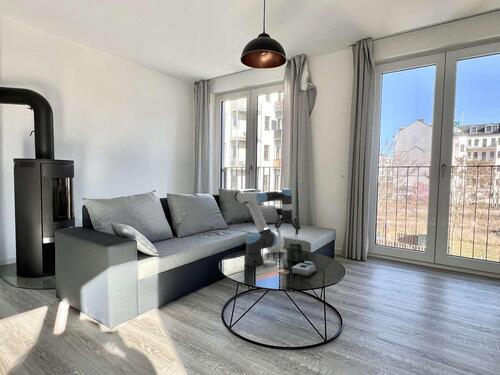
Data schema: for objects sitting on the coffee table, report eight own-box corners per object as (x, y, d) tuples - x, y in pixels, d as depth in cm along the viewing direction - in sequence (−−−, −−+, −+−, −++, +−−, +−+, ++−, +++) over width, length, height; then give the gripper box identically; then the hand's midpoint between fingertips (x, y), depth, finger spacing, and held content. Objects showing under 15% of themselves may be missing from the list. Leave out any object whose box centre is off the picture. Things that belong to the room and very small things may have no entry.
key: (281, 268, 215) (280, 251, 215) (285, 266, 220) (284, 249, 220) (284, 269, 213) (284, 251, 213) (289, 266, 218) (288, 249, 218)
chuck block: (292, 272, 205) (291, 265, 205) (302, 266, 217) (302, 260, 217) (307, 276, 198) (307, 268, 197) (317, 269, 209) (316, 262, 209)
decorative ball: (288, 251, 261) (287, 229, 260) (280, 256, 246) (279, 233, 245) (268, 249, 271) (268, 228, 270) (260, 253, 257) (259, 231, 256)
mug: (304, 261, 230) (304, 246, 230) (286, 262, 229) (286, 247, 228) (300, 257, 241) (300, 243, 240) (283, 258, 240) (283, 244, 239)
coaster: (275, 272, 207) (275, 272, 207) (281, 269, 213) (281, 268, 213) (285, 274, 202) (285, 274, 202) (291, 271, 208) (291, 270, 208)
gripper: (269, 209, 217) (270, 237, 219) (301, 211, 204) (301, 240, 206) (274, 207, 224) (274, 234, 225) (304, 209, 211) (305, 238, 212)
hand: (287, 237), depth 215 cm, fingers open, 13 cm apart
